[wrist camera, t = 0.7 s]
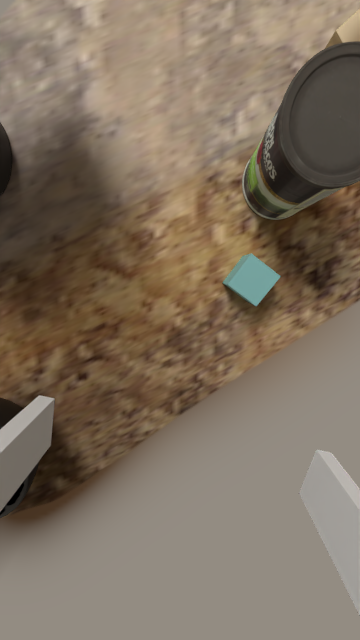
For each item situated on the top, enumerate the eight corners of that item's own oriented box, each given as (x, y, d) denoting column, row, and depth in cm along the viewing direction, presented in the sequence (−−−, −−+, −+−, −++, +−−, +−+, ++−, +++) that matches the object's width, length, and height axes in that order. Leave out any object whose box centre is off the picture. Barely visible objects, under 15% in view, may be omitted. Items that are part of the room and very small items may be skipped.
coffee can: (238, 218, 34) (271, 183, 20) (246, 138, 32) (290, 37, 18) (309, 222, 34) (392, 189, 20) (322, 142, 31) (426, 41, 18)
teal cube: (222, 282, 36) (227, 284, 31) (242, 255, 35) (251, 253, 30) (247, 301, 36) (256, 306, 32) (268, 275, 35) (280, 276, 31)
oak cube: (311, 69, 30) (335, 30, 25) (346, 38, 29) (378, -9, 24) (332, 104, 31) (359, 72, 26) (366, 74, 30) (401, 36, 25)
